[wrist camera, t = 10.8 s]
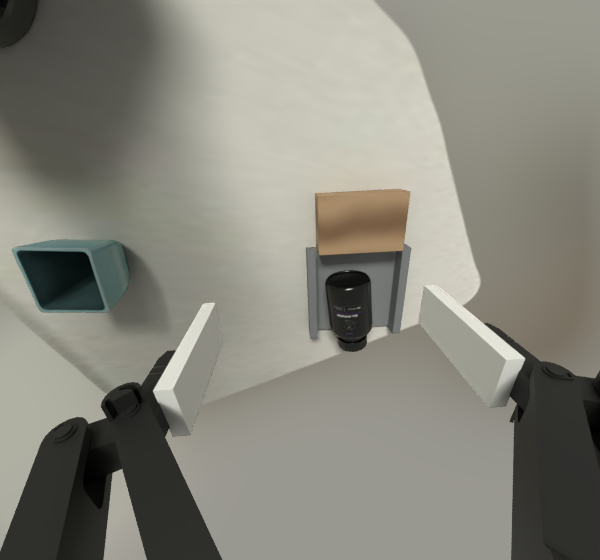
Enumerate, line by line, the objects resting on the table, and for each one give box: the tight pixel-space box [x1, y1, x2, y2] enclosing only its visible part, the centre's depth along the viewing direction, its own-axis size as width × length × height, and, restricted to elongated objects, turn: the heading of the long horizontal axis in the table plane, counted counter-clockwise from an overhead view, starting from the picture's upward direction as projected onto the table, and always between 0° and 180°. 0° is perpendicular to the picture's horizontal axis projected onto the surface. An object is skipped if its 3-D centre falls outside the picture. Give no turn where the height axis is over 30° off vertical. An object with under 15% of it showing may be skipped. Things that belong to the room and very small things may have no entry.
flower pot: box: [12, 239, 129, 313], centre depth 35 cm, size 9×9×9 cm
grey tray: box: [306, 244, 411, 338], centre depth 42 cm, size 15×15×3 cm
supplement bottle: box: [325, 270, 373, 352], centre depth 40 cm, size 7×7×12 cm
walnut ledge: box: [315, 189, 410, 255], centre depth 36 cm, size 8×12×4 cm, turn 93°
